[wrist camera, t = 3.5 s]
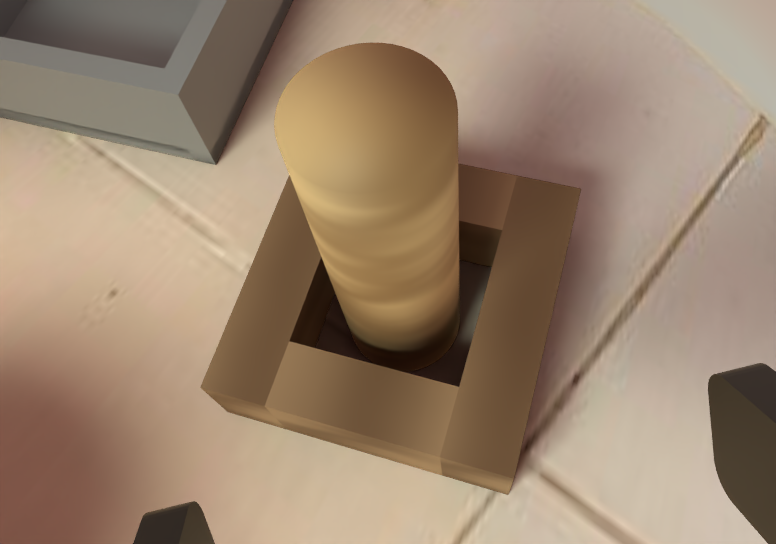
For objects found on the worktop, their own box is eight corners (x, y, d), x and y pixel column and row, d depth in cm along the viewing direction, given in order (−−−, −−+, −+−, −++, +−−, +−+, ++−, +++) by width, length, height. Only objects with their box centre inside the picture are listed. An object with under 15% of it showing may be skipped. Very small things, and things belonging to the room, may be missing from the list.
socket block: (227, 411, 26) (200, 387, 23) (321, 176, 30) (307, 132, 27) (507, 494, 24) (513, 478, 21) (569, 231, 28) (581, 188, 25)
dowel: (335, 355, 26) (247, 171, 16) (369, 258, 28) (310, 30, 17) (442, 384, 26) (428, 211, 15) (471, 282, 27) (478, 59, 16)
